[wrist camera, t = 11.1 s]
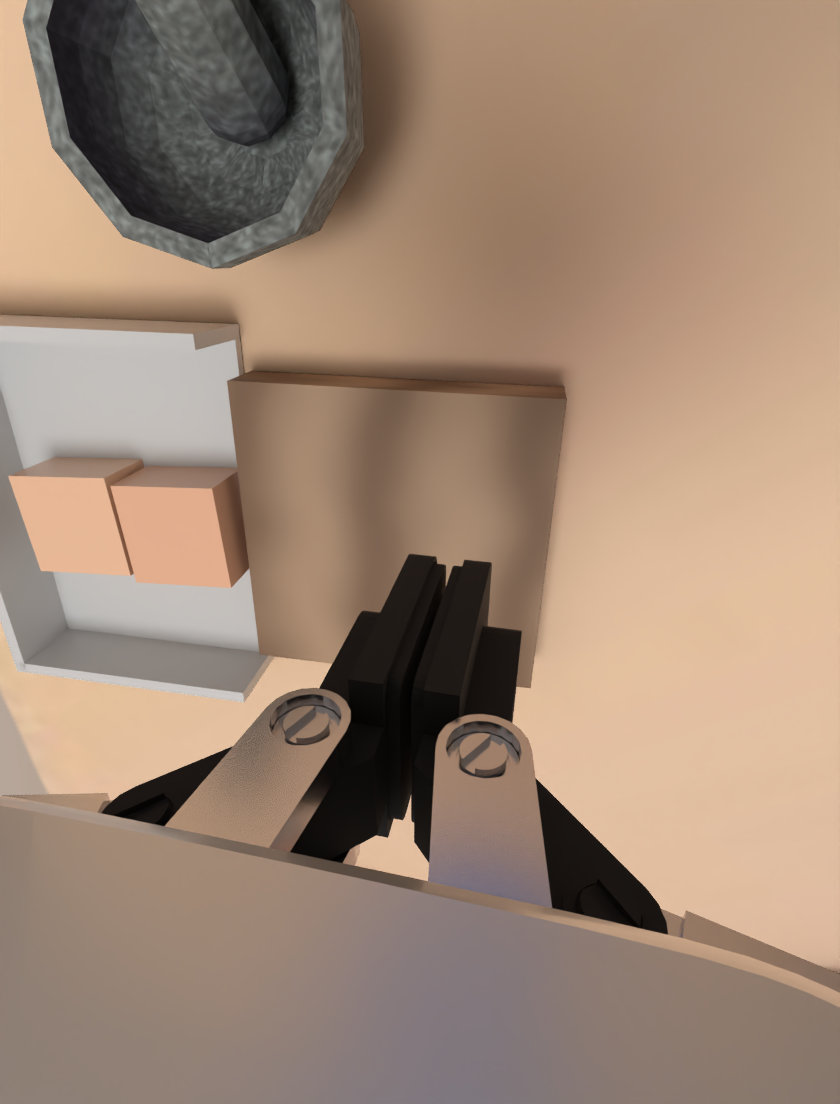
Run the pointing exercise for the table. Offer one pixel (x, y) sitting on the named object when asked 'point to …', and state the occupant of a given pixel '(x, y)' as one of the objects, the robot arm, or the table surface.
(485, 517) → the board
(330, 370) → the table surface
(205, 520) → the tile
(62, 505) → the tile
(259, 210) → the mortar and pestle
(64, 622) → the tray
